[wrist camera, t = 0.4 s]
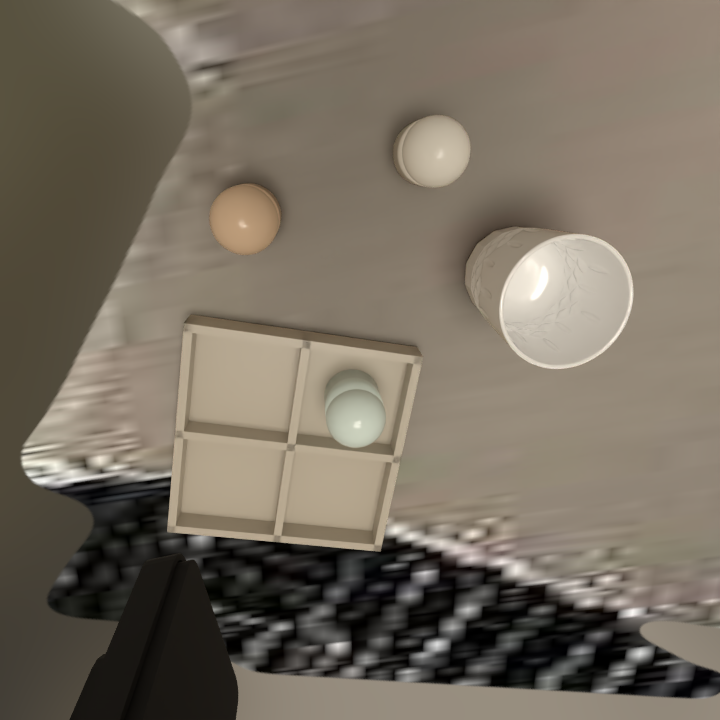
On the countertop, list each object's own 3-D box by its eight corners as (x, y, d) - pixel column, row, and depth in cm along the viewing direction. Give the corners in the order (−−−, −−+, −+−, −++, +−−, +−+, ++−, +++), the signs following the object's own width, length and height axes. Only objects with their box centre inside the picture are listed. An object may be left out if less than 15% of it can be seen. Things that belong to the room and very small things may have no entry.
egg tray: (190, 314, 41) (183, 323, 38) (417, 346, 43) (423, 357, 41) (174, 513, 46) (167, 531, 43) (377, 533, 48) (380, 551, 46)
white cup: (434, 280, 41) (471, 314, 32) (508, 194, 40) (570, 203, 30) (508, 344, 44) (563, 394, 34) (582, 265, 42) (661, 294, 33)
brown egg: (222, 178, 38) (207, 180, 32) (285, 189, 38) (281, 193, 33) (216, 240, 39) (200, 253, 33) (277, 250, 40) (272, 265, 34)
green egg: (328, 365, 42) (331, 397, 36) (383, 373, 43) (395, 405, 37) (320, 416, 43) (322, 455, 38) (373, 423, 44) (383, 462, 38)
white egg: (399, 114, 38) (415, 105, 32) (459, 126, 38) (486, 119, 32) (387, 179, 39) (401, 182, 33) (446, 190, 39) (469, 194, 34)
